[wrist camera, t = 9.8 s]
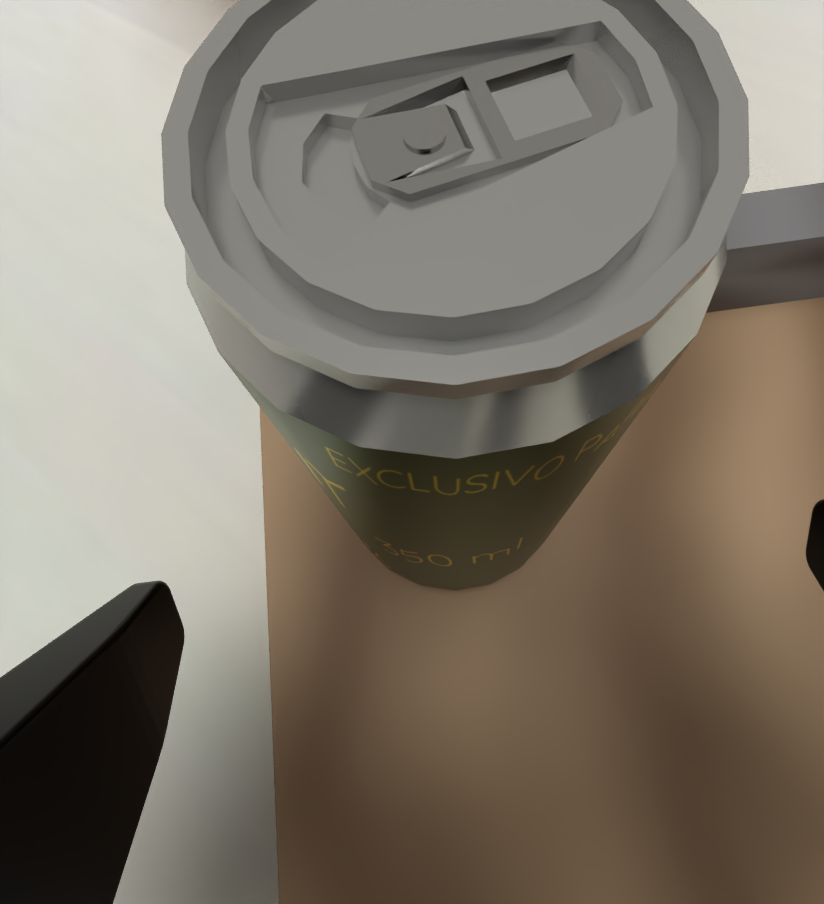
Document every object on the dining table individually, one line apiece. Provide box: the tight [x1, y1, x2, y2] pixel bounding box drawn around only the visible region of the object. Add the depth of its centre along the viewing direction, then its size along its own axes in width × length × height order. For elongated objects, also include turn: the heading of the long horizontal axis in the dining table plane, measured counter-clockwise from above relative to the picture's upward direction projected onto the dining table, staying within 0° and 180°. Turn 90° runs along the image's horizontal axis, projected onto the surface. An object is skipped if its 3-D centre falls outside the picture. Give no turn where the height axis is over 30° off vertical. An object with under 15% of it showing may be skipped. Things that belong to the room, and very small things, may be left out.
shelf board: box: [260, 183, 824, 904], centre depth 15 cm, size 20×16×4 cm
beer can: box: [161, 0, 749, 590], centre depth 11 cm, size 5×5×12 cm
